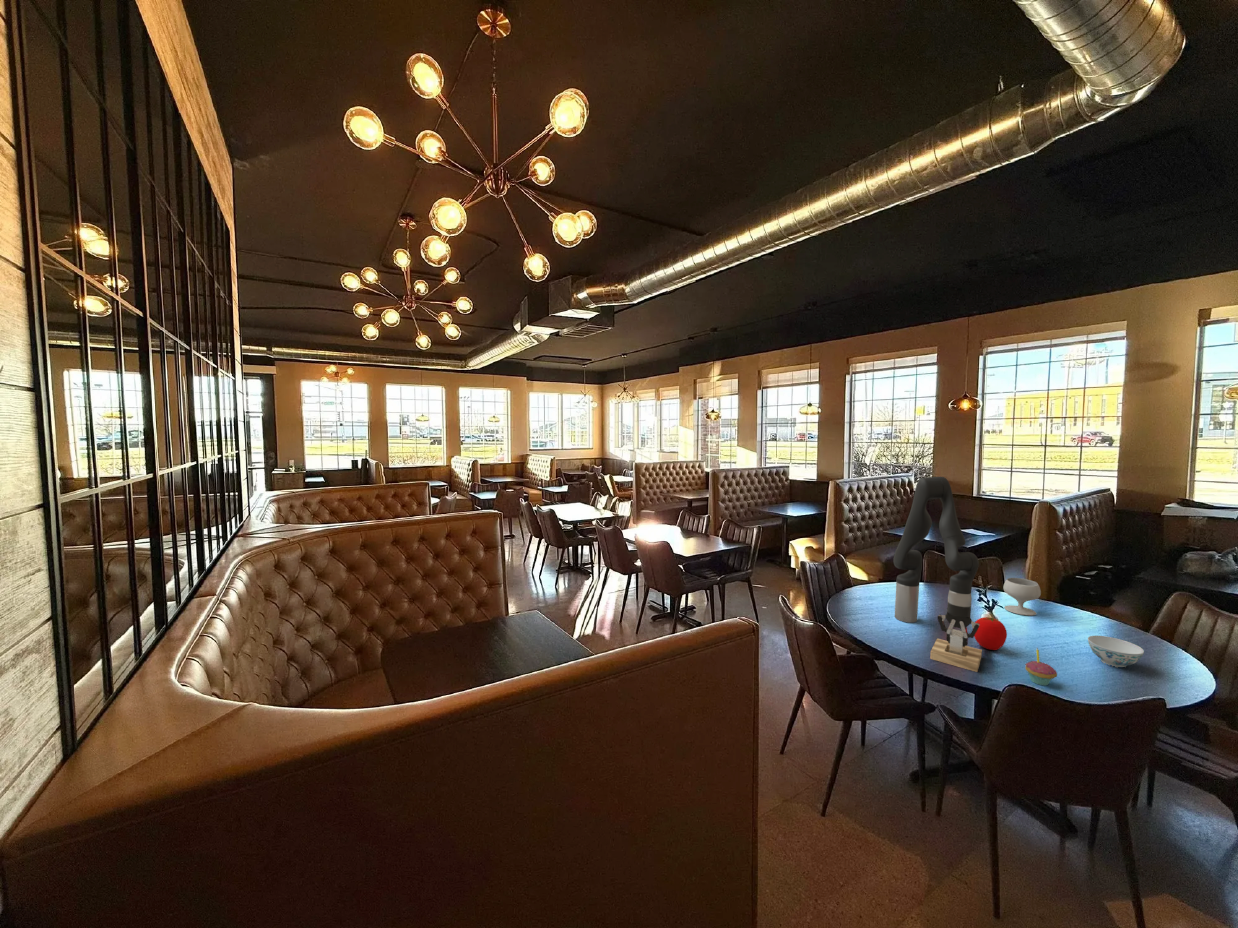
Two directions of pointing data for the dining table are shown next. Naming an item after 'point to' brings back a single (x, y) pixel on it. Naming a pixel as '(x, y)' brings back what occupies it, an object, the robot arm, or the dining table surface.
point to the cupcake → (1040, 671)
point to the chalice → (1021, 594)
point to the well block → (956, 655)
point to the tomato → (990, 633)
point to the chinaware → (1115, 651)
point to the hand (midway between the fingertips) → (956, 644)
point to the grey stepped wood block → (956, 642)
